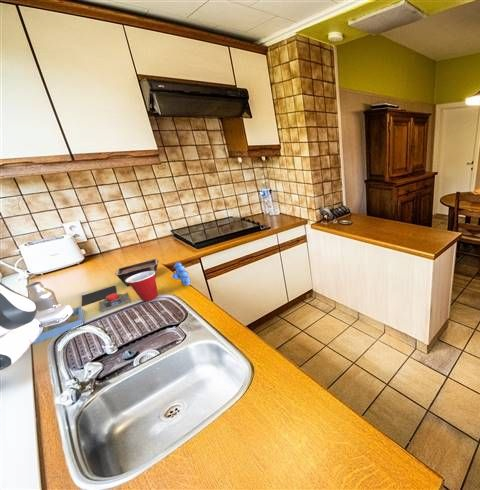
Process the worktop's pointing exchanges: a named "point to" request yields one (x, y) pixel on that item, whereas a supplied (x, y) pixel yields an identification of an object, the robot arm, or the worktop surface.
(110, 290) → the drying mat
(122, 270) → the baking dish
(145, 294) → the plastic cup
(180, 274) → the grapes
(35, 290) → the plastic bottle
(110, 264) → the worktop surface
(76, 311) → the dish rack
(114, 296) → the button
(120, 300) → the control block
